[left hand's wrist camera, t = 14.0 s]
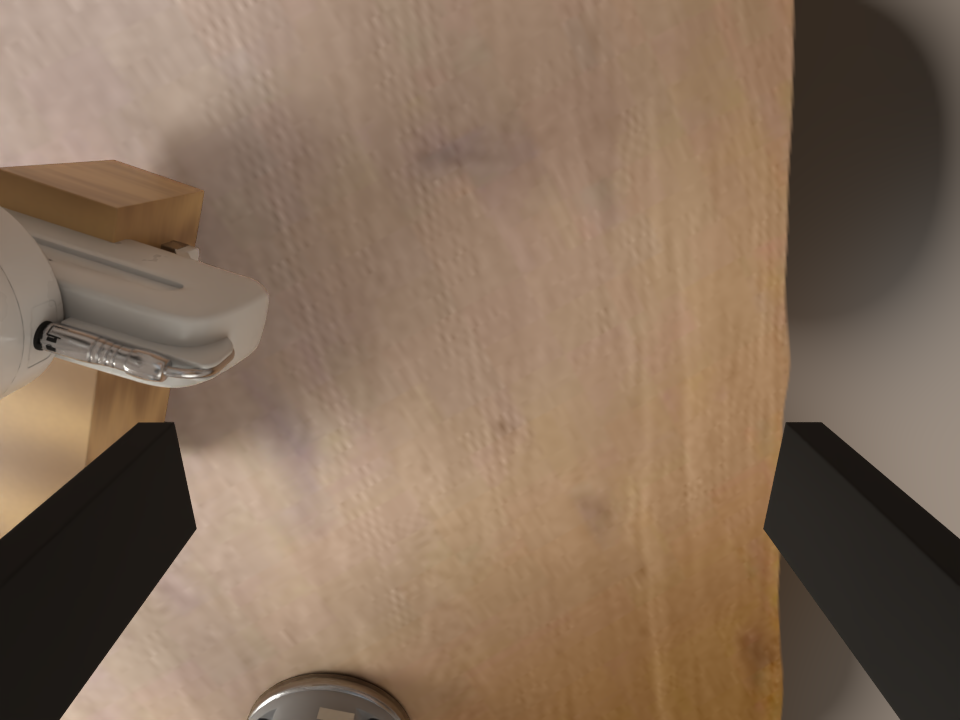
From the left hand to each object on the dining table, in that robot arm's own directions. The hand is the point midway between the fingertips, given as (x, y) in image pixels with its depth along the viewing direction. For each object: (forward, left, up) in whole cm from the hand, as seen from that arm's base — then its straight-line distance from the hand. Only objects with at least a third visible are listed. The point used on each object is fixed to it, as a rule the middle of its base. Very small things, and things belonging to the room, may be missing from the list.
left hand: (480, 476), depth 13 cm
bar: (-5, +23, -26) cm, 35 cm away
